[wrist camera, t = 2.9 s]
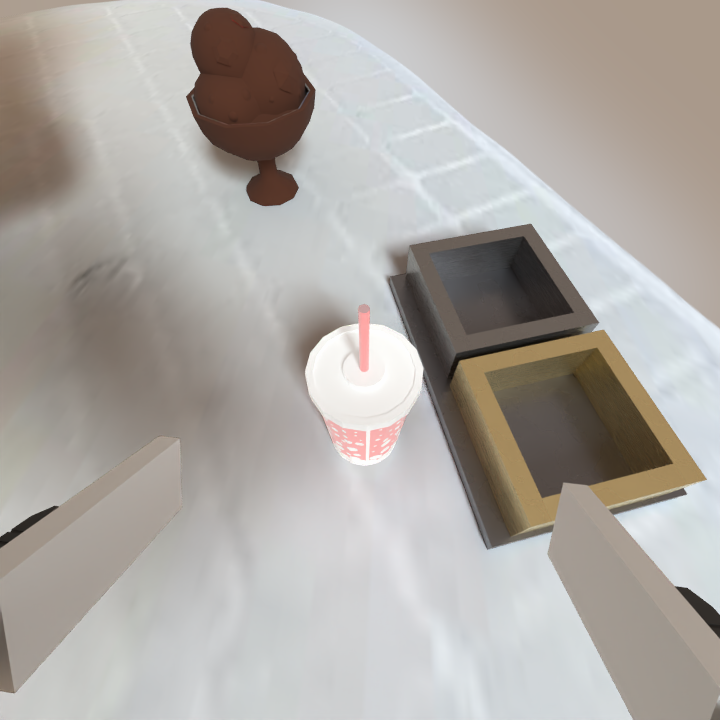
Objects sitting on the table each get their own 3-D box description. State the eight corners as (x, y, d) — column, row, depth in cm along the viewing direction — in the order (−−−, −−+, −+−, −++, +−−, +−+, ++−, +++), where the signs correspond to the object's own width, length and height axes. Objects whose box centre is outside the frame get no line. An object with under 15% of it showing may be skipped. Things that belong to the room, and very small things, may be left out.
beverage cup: (403, 393, 30) (429, 252, 18) (412, 475, 27) (450, 371, 15) (321, 396, 30) (293, 257, 18) (320, 478, 27) (283, 376, 15)
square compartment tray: (389, 284, 35) (392, 245, 32) (525, 258, 37) (544, 218, 33) (487, 549, 24) (510, 539, 20) (676, 497, 26) (731, 479, 22)
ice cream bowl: (236, 236, 39) (173, 56, 26) (212, 172, 44) (150, -3, 32) (337, 207, 41) (325, 27, 28) (303, 150, 46) (279, -23, 34)
